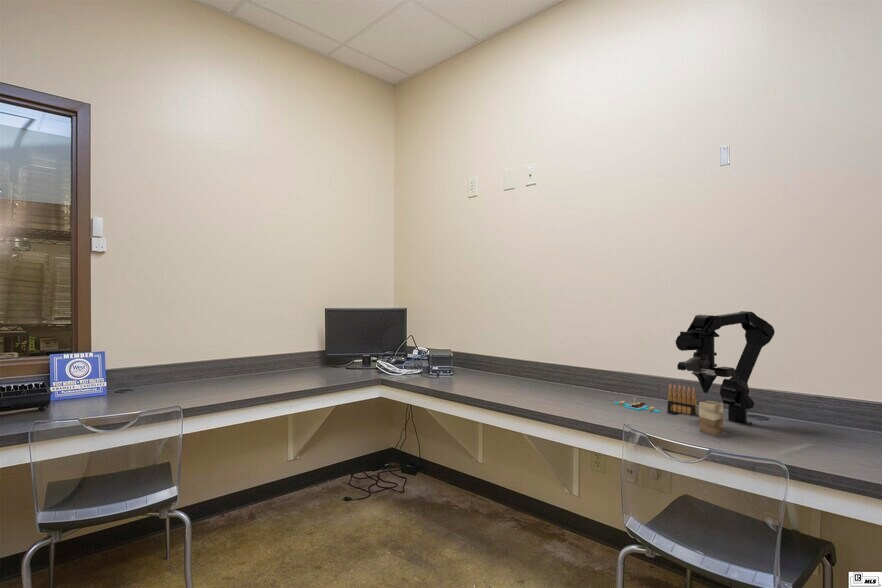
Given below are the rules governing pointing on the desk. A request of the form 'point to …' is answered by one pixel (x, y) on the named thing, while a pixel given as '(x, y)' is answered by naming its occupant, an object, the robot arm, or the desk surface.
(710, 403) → the maple block
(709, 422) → the walnut block
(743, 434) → the blueprint board
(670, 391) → the ammunition clip
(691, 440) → the desk surface
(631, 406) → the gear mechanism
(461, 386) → the desk surface
